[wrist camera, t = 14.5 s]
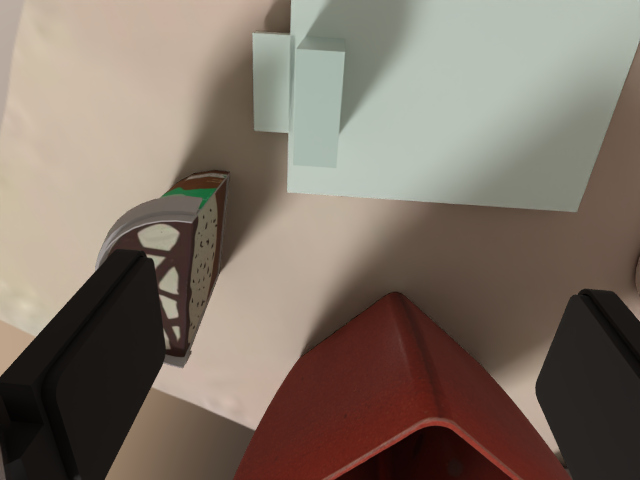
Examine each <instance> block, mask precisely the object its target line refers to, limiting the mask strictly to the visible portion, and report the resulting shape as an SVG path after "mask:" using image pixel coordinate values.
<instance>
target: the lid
mask: <svg viewBox="0 0 640 480" xmlns="http://www.w3.org/2000/svg"><path fill="white" fill-rule="evenodd" d="M252 36H253V97H254V131H265V132H280V133H288V172H287V192H290V193H304V194H319V195H333V196H348V197H362V198H377V199H391V200H406V201H420V202H435V203H449V204H464V205H478V206H493V207H507V208H522V209H536V210H551V211H566V212H577V210H578V208H579V205H580V202H581V200H582V197H583V194H584V191H585V189H586V186H587V183H588V181H589V178H590V175H591V172H592V170H593V167H594V164H595V161H596V159H597V156H598V153H599V151H600V148H601V145H602V142H603V140H604V137H605V134H606V131H607V129H608V126H609V123H610V121H611V118H612V115H613V112H614V110H615V107H616V104H617V101H618V99H619V96H620V93H621V91H622V88H623V85H624V82H625V80H626V77H627V74H628V71H629V69H630V66H631V63H632V61H633V58H634V55H635V52H636V50H637V47H638V44H639V42H640V0H291V29H290V33H278V32H263V31H255V32H253V33H252Z"/></svg>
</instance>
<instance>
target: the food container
mask: <svg viewBox="0 0 640 480" xmlns="http://www.w3.org/2000/svg"><path fill="white" fill-rule="evenodd" d="M229 176H230V172H226V171H217V170H212V171H206V172H199V173H194V174H192V175H190V176H189V177H187V178H185V179H183V180H181V181H179V182H178V183H177V184H175V185H174V186H173V187H172V188H171V189H170V190H168V191H167V192H166V193H165V194H164V195H163V196H161V197H160V198H158V199H154V200H151V201H148V202H145V203H142V204H140V205H138V206H136V207H134V208H133V209H131V210H129V211H128V212H126V213H125V214H124V215H123V216H122V217H120V218H119V219H118V220H117V221H116V223H115V224H114V225H113V226H112V228H111V229H110V230H109V232H108V234H107V236H106V238H105V241H104V243H103V245H102V247H101V250H100V252H99V254H98V258H97V262H96V266H95V271H96V270H97V269H98V268H99V267H100V266H101V265H102V264H103V263H104V262H105V260H106V259H107V258H108V257H109V256H110V255H111V254H112V253H113V252H114V251H115V250H116V249H129V250H141V251H144V252H145V253H146V255H147V257H148V258H152V259H153V261H154V264H155V271H156V279H157V286H158V293H159V301H160V308H161V315H162V323H163V330H164V337H165V345H166V355H165V359H164V362H163V363H164V364H167V365H170V366H174V367H178V368H183V367H184V365H185V364H186V363H187V361H188V358H189V356H190V354H191V351H190V349H191V347H192V344H193V342H194V339H195V336H196V334H197V331H198V329H199V326H200V323H201V321H202V318H203V316H204V313H205V310H206V308H207V305H208V302H209V300H210V297H211V295H212V292H213V289H214V287H215V284H216V282H217V279H218V276H219V274H220V264H221V254H222V244H223V235H224V225H225V215H226V205H227V195H228V185H229Z"/></svg>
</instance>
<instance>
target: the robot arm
mask: <svg viewBox="0 0 640 480" xmlns="http://www.w3.org/2000/svg"><path fill="white" fill-rule="evenodd" d="M635 282H636V287H637V291H638V294H639V296H640V258H639V261H638V264H637V268H636V279H635ZM165 355H166V345H165V337H164V330H163V323H162V315H161V308H160V301H159V293H158V286H157V279H156V271H155V264H154V261H153V259H152V258H148V257H147V255H146V253H145V252H144V251H141V250H129V249H116V250H115V251H114V252H113V253H112V254H111V255H110V256H109V257H108V258H107V259H106V260H105V262H104V263H103V264H102V265H101V266H100V267H99V268H98V269H97V270H96V271H95V273H94V274H93V275H92V276H91V277H90V278H89V279H88V280H87V281H86V283H85V284H84V285H83V286H82V287H81V288H80V289H79V290H78V291H77V292H76V294H75V295H74V296H73V297H72V298H71V299H70V300H69V301H68V302H67V304H66V305H65V306H64V307H63V308H62V309H61V310H60V311H59V312H58V314H57V315H56V316H55V317H54V318H53V319H52V320H51V321H50V322H49V323H48V325H47V326H46V327H45V328H44V329H43V330H42V331H41V332H40V333H39V335H38V336H37V337H36V338H35V339H34V340H33V341H32V342H31V343H30V345H29V346H28V347H27V348H26V349H25V350H24V351H23V352H22V353H21V355H20V356H19V357H18V358H17V359H16V360H15V361H14V362H13V363H12V364H11V366H10V367H9V368H8V369H7V370H6V371H5V372H4V373H3V374H2V375H1V377H0V480H105V478H106V476H107V473H108V471H109V469H110V468H111V466H112V464H113V462H114V460H115V458H116V456H117V454H118V452H119V450H120V448H121V446H122V444H123V442H124V440H125V438H126V436H127V434H128V432H129V430H130V428H131V426H132V424H133V422H134V420H135V418H136V416H137V414H138V412H139V410H140V408H141V406H142V404H143V402H144V400H145V398H146V396H147V394H148V392H149V390H150V388H151V386H152V385H153V383H154V381H155V379H156V377H157V375H158V373H159V371H160V369H161V367H162V365H163V362H164V359H165ZM535 389H536V396H537V399H538V402H539V404H540V406H541V408H542V411H543V413H544V415H545V417H546V420H547V422H548V424H549V426H550V429H551V431H552V433H553V436H554V438H555V440H556V442H557V445H558V447H559V449H560V451H561V454H562V456H563V458H564V460H565V463H566V465H567V467H568V469H569V472H570V474H571V476H572V478H573V480H640V321H639V320H638V319H637V318H636V317H635V316H634V314H633V313H632V312H631V311H630V310H629V309H628V307H627V306H626V305H625V304H624V303H623V301H622V300H621V299H620V298H619V297H618V296H617V294H615V293H614V292H612V291H605V290H593V289H583V290H581V291H580V292H579V293H578V295H573V296H572V297H571V298H570V300H569V302H568V304H567V307H566V309H565V312H564V314H563V317H562V319H561V322H560V324H559V327H558V329H557V332H556V334H555V337H554V339H553V342H552V344H551V346H550V349H549V351H548V354H547V356H546V359H545V361H544V364H543V366H542V369H541V371H540V374H539V376H538V379H537V381H536V387H535Z"/></svg>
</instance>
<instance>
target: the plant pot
mask: <svg viewBox="0 0 640 480" xmlns="http://www.w3.org/2000/svg"><path fill="white" fill-rule="evenodd" d="M233 480H572V479H571V477H570V476H569V474H568V473H567V472H566V470H565V469H564V467H563V466H562V465H561V463H560V462H559V460H558V459H557V458H556V456H555V455H554V453H553V452H552V451H551V449H550V448H549V447H548V445H547V444H546V443H545V441H544V440H543V439H542V437H541V436H540V435H539V433H538V432H537V431H536V429H535V428H534V427H533V425H532V424H531V423H530V422H529V420H528V419H527V418H526V417H525V415H524V414H523V413H522V412H521V410H520V409H519V408H518V407H517V405H516V404H515V403H514V402H513V401H512V399H511V398H510V397H509V396H508V395H507V394H506V392H505V391H504V390H503V389H502V388H501V387H500V386H499V384H498V383H497V382H496V381H495V380H494V379H493V378H492V377H491V375H490V374H489V373H488V372H487V371H486V370H485V369H484V368H483V367H482V366H481V365H480V364H479V363H478V362H477V361H476V360H475V359H474V358H473V357H472V356H471V355H469V354H468V353H467V352H466V351H465V350H464V349H463V348H462V347H461V346H460V345H458V344H457V343H456V342H455V341H454V340H453V339H452V338H451V337H450V336H449V335H448V334H446V333H445V332H444V331H443V330H442V329H441V328H440V327H439V326H438V325H437V324H435V323H434V322H433V321H432V320H431V319H430V318H429V317H428V316H427V315H426V314H424V313H423V312H422V311H421V310H420V309H419V308H418V307H417V306H416V305H415V304H413V303H412V302H411V301H410V300H409V299H408V298H407V297H406V296H404V295H403V294H401V293H397V292H394V293H390V294H388V295H386V296H384V297H383V298H382V299H380V300H379V301H377V302H376V303H375V304H373V305H372V306H371V307H369V308H368V309H366V310H365V311H364V312H362V313H361V314H360V315H358V316H357V317H356V318H354V319H353V320H351V321H350V322H349V323H347V324H346V325H345V326H343V327H342V328H341V329H339V330H338V331H336V332H335V333H334V334H332V335H331V336H330V337H328V338H327V339H325V340H324V341H323V342H321V343H320V344H319V345H317V346H316V347H315V348H313V349H312V350H310V351H309V352H308V353H306V354H305V355H304V356H302V357H301V358H299V359H298V361H297V362H296V363H295V365H294V366H293V368H292V369H291V371H290V372H289V373H288V375H287V377H286V378H285V380H284V381H283V383H282V385H281V386H280V388H279V389H278V391H277V393H276V394H275V396H274V398H273V399H272V401H271V403H270V405H269V406H268V408H267V410H266V412H265V414H264V416H263V418H262V419H261V421H260V423H259V425H258V427H257V429H256V431H255V433H254V435H253V437H252V439H251V441H250V443H249V445H248V447H247V449H246V451H245V454H244V456H243V458H242V460H241V462H240V465H239V467H238V469H237V471H236V474H235V476H234V478H233Z"/></svg>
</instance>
